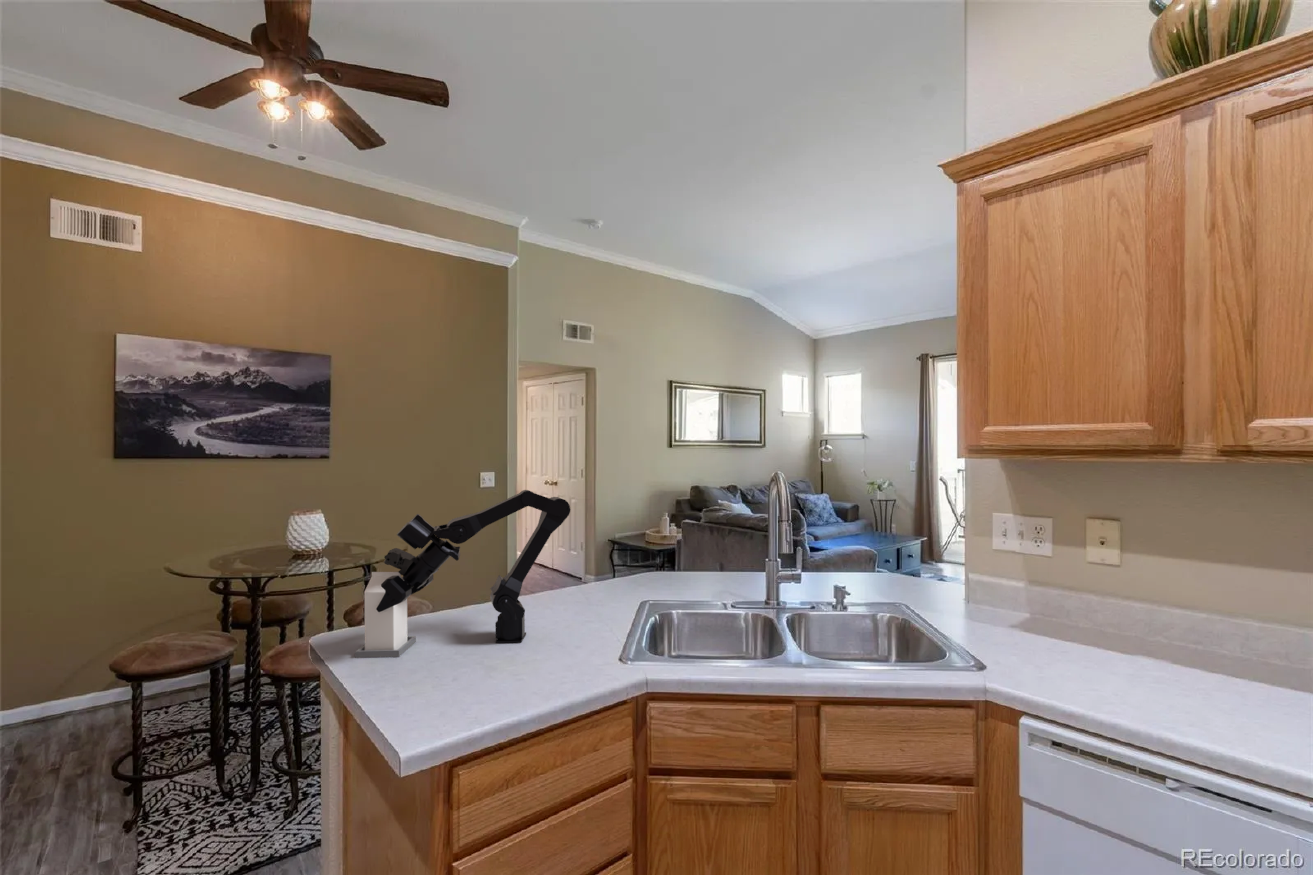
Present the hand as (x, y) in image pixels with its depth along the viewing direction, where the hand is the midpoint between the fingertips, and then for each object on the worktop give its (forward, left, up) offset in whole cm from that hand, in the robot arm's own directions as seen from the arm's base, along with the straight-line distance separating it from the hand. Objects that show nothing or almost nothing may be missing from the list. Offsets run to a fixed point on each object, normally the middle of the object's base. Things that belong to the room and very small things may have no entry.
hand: (384, 606), depth 142 cm
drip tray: (0, 0, -11) cm, 11 cm away
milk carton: (0, 0, -11) cm, 11 cm away
